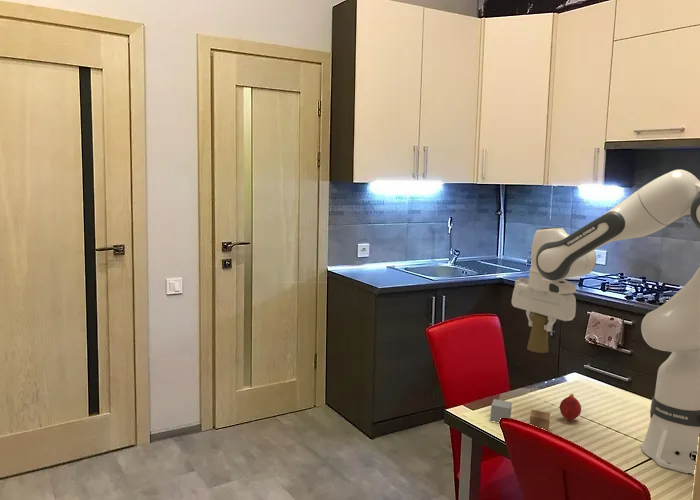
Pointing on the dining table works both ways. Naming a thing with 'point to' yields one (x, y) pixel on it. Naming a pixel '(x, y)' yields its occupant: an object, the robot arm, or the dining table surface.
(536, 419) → the walnut block
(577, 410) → the onion
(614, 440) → the dining table surface
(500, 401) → the slate block
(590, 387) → the dining table surface
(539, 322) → the cork
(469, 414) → the dining table surface
